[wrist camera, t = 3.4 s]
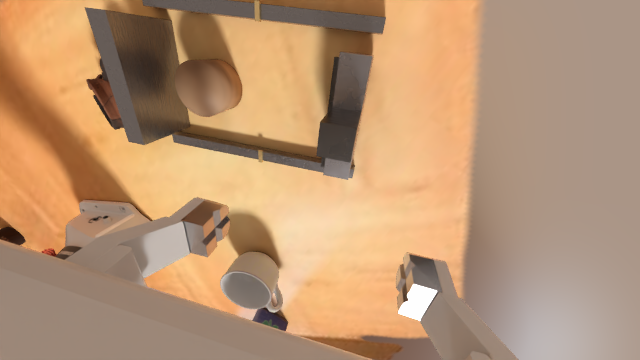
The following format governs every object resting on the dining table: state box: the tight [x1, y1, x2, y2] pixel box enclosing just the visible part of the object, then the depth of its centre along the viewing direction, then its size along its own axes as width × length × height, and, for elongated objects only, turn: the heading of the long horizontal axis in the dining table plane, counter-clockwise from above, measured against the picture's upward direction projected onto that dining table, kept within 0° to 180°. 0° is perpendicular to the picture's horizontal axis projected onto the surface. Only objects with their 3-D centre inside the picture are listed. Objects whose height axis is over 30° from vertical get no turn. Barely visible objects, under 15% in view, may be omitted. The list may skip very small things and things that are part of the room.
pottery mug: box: [87, 59, 124, 130], centre depth 35 cm, size 12×10×8 cm
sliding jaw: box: [316, 52, 374, 180], centre depth 25 cm, size 4×13×14 cm, turn 174°
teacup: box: [220, 252, 283, 312], centre depth 49 cm, size 14×11×8 cm
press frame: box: [85, 0, 386, 178], centre depth 30 cm, size 31×21×9 cm
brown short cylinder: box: [175, 59, 242, 117], centre depth 32 cm, size 7×7×5 cm
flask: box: [252, 308, 288, 331], centre depth 57 cm, size 9×3×11 cm, turn 58°
